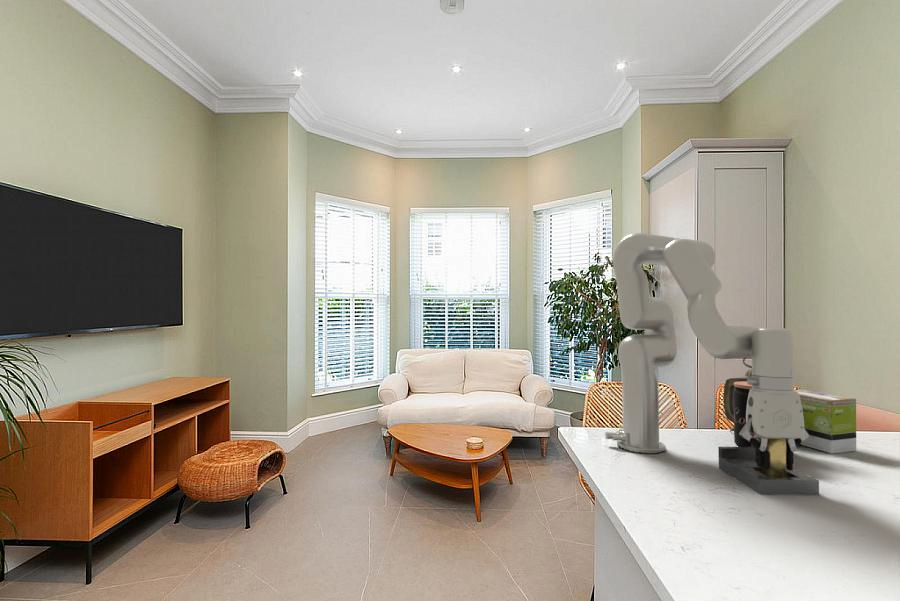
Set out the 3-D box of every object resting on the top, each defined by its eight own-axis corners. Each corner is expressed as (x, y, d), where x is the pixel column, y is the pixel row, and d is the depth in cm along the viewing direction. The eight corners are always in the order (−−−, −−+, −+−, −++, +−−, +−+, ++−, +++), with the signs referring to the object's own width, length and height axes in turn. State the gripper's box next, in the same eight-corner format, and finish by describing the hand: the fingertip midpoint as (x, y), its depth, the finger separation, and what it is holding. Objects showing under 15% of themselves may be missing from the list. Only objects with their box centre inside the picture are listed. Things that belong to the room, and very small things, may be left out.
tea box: (778, 439, 140) (777, 390, 141) (802, 437, 143) (802, 388, 144) (832, 454, 126) (831, 398, 126) (858, 451, 129) (857, 397, 129)
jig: (760, 494, 98) (759, 468, 98) (718, 469, 114) (718, 446, 114) (819, 495, 98) (818, 468, 98) (769, 469, 114) (768, 447, 114)
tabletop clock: (723, 432, 149) (723, 353, 150) (740, 429, 153) (740, 352, 154) (772, 443, 136) (771, 357, 137) (789, 440, 141) (788, 356, 141)
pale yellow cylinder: (771, 481, 100) (770, 439, 101) (758, 474, 105) (757, 434, 105) (792, 482, 100) (791, 439, 100) (778, 475, 105) (777, 434, 105)
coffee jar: (725, 446, 134) (725, 382, 134) (749, 441, 138) (748, 380, 139) (764, 456, 124) (763, 387, 125) (788, 451, 129) (787, 385, 129)
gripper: (743, 386, 100) (745, 473, 99) (825, 386, 99) (827, 474, 99) (724, 381, 107) (725, 462, 107) (799, 381, 107) (801, 463, 106)
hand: (774, 467), depth 103 cm, fingers closed on pale yellow cylinder, 4 cm apart
